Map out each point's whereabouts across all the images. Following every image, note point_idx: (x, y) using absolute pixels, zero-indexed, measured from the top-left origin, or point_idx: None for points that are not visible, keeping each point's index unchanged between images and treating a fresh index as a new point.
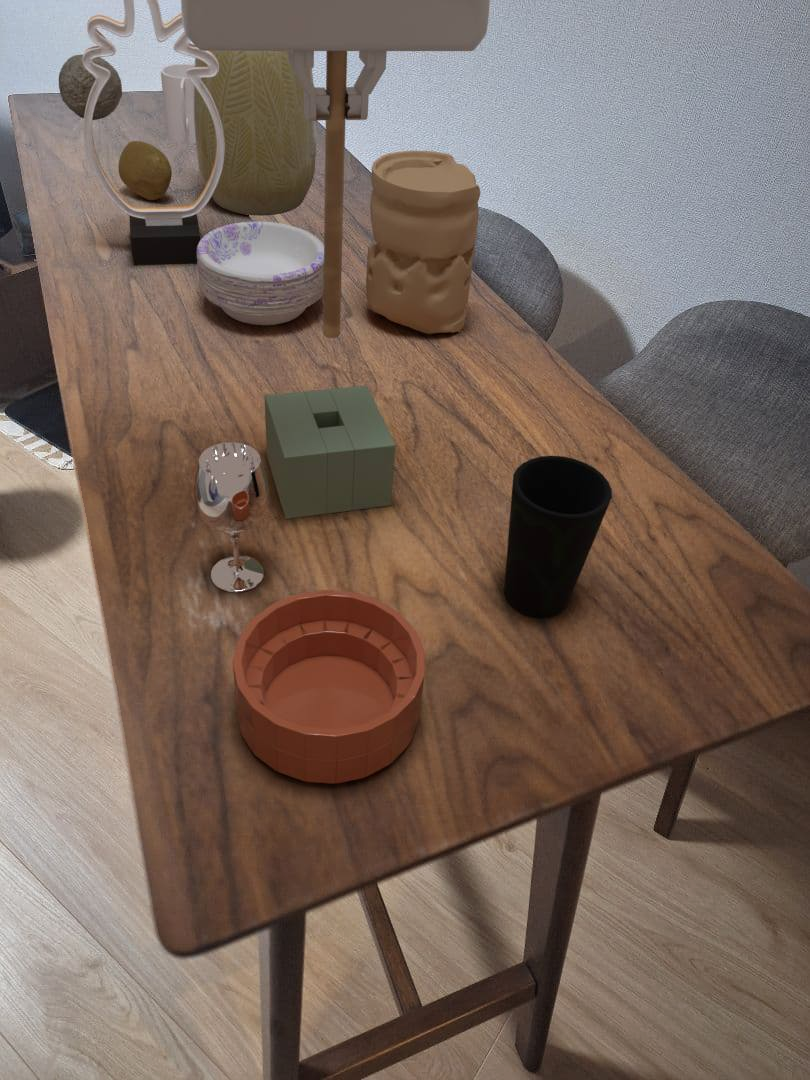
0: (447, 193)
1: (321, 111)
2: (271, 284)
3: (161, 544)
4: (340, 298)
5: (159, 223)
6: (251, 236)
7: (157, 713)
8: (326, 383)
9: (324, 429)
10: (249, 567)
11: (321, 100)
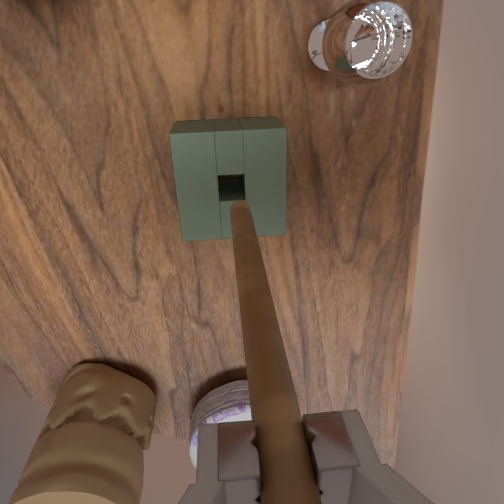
0: (49, 490)
1: (330, 428)
2: (246, 403)
3: (384, 99)
4: (232, 225)
5: None
6: None
7: None
8: (207, 302)
9: (238, 170)
10: (321, 45)
11: (339, 453)
